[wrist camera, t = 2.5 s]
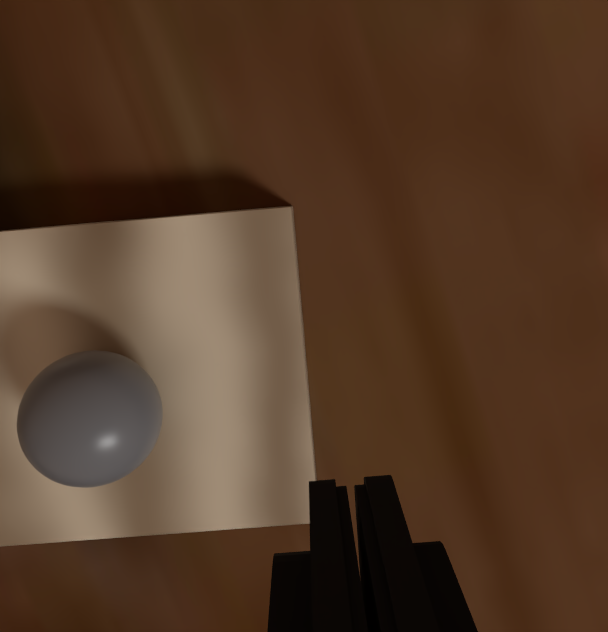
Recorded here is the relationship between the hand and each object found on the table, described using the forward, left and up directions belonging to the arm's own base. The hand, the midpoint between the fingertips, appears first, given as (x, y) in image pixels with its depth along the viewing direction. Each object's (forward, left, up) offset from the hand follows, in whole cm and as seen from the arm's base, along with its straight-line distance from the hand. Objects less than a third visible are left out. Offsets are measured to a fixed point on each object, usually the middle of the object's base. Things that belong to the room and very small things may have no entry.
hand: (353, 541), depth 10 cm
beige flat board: (+14, +6, -14) cm, 21 cm away
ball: (+8, +4, -9) cm, 12 cm away
